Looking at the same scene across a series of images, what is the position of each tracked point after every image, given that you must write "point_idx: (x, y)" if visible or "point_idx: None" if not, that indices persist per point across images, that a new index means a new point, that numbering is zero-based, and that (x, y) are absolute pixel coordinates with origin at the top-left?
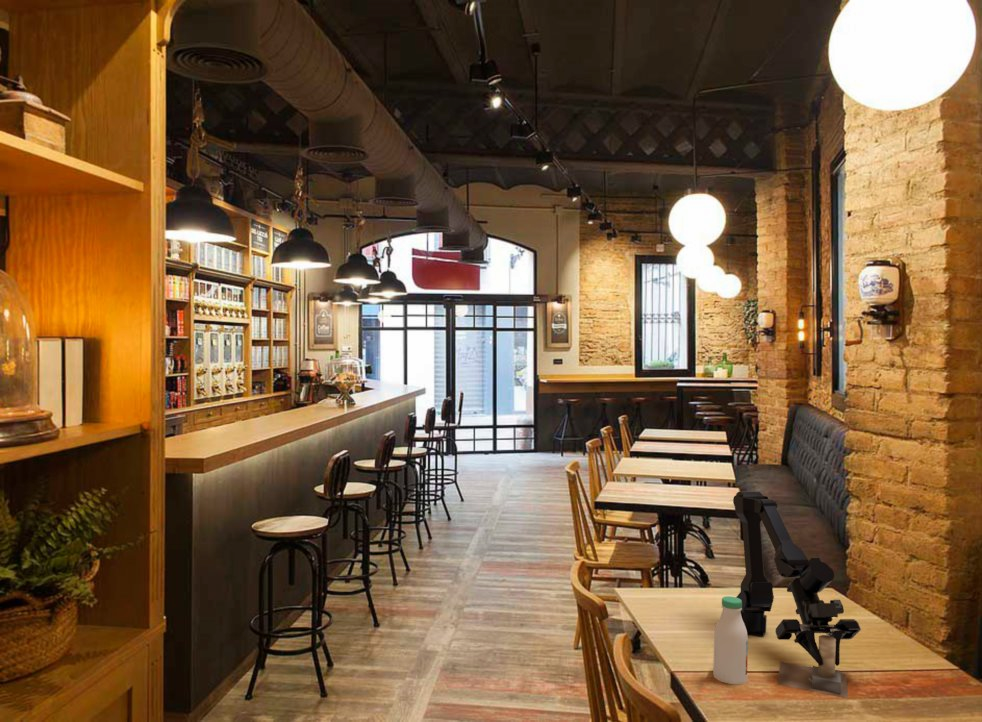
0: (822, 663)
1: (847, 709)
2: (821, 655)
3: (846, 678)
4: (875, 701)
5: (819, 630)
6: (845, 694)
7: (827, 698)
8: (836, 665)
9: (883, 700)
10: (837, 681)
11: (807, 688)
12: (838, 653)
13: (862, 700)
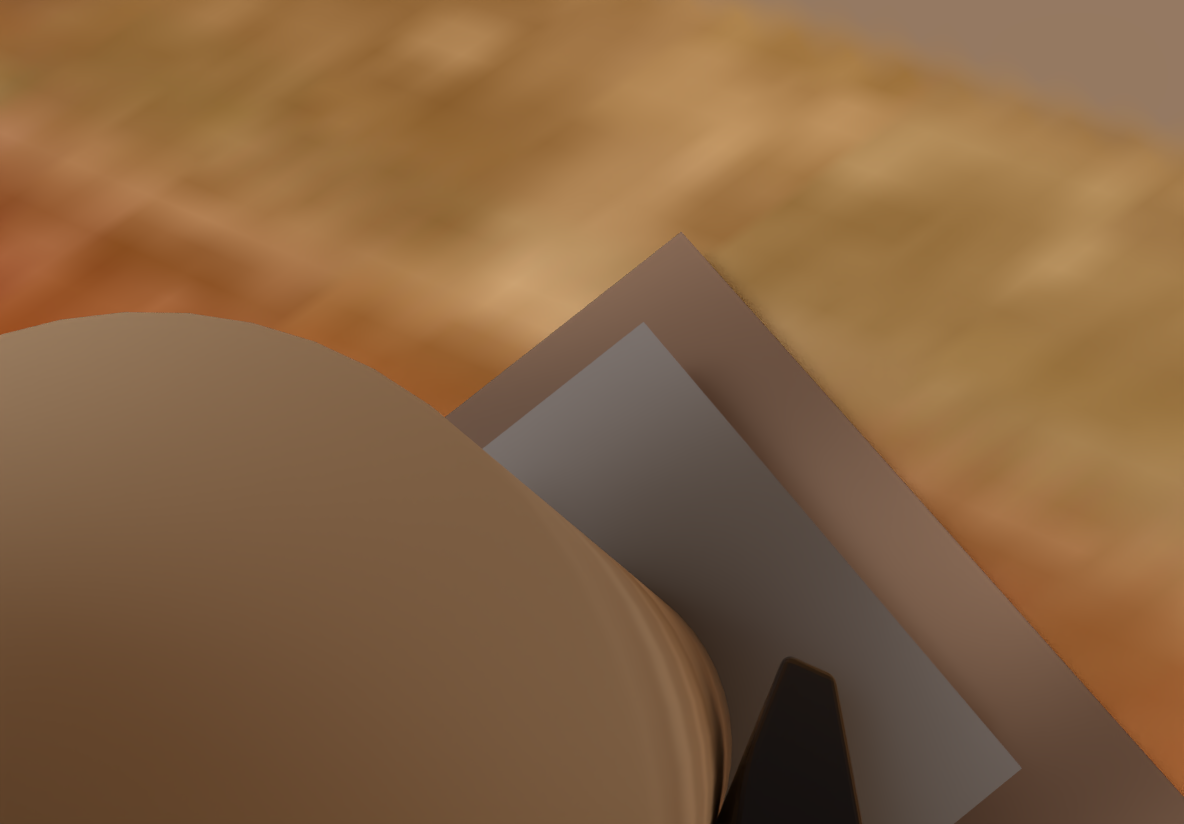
0: (803, 662)
1: (853, 151)
2: (710, 794)
3: None
4: (269, 169)
5: None
6: (603, 338)
7: None
8: None
9: (149, 150)
10: (656, 388)
11: (1068, 790)
12: None
13: (402, 254)
